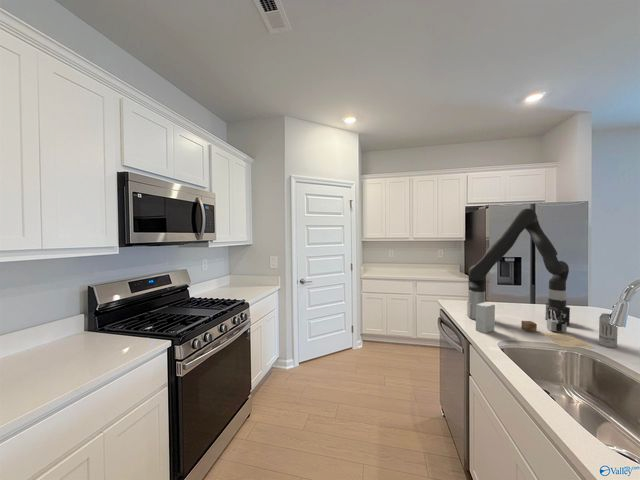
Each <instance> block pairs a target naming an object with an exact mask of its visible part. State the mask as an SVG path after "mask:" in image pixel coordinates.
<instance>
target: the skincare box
mask: <svg viewBox="0 0 640 480" xmlns="http://www.w3.org/2000/svg"><path fill="white" fill-rule="evenodd" d="M495 313H496V304H493V303H489V302H486V301H485V302H484V303H480V304H476V319H475V331H478V332H480V333H482V334H489V333H491V332H495V325H496V324H495V319H496V316H495V315H496V314H495Z"/></svg>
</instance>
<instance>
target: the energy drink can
mask: <svg viewBox="0 0 640 480" xmlns="http://www.w3.org/2000/svg"><path fill="white" fill-rule="evenodd" d="M610 314H611V313H604V312H603V313H601V315H600V316H599V317H598V319H599V321H598V324H599V325H598V326H599V327H598V344H600V345H601V346H603V347H605V348H609V349H610V348H611V349H615V348H616V347H618V327H616V326H614V325H611V324H610V323H609V322H608V321H609V317H610Z"/></svg>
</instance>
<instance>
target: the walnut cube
mask: <svg viewBox="0 0 640 480" xmlns="http://www.w3.org/2000/svg"><path fill="white" fill-rule="evenodd" d="M537 327H538V324H537V323H536V322H534V321H532V320H521V330H522V331H524V332H525V333H535V334H536V333H537V330H538V329H537Z"/></svg>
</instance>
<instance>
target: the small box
mask: <svg viewBox="0 0 640 480" xmlns="http://www.w3.org/2000/svg"><path fill="white" fill-rule="evenodd" d="M547 308H550V306H549V305H548V302H545V321H547V319H549V317H548V311H547ZM563 311H564V314H567V319H566V322H567V326H570V320H571V317H570V316H571V307H568V306H566V308H563ZM558 318H560V317H558ZM549 320H550V319H549Z"/></svg>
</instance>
